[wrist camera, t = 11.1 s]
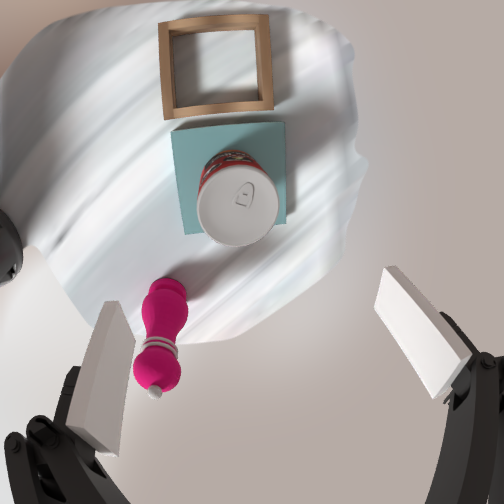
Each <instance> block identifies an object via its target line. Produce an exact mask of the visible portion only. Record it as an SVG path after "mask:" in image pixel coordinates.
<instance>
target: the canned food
mask: <svg viewBox="0 0 504 504" xmlns="http://www.w3.org/2000/svg"><path fill="white" fill-rule="evenodd" d="M279 208H280V200H279V195H278V191H277V188H276V186H275V184H274V182H273V181H272V180H271V178H270V177H269V176H268V174H267V173H266V172H265V171H264V170H263V168H262V167H261V166H260V165H259V164H258V163H257V162H256V160H255V159H254V158H253V157H252V156H250V155H249V154H247V153H245V152H243V151H239V150H226V151H223V152H220V153H218V154H216V155H215V156H213V157H212V158H211V159H210V160H209V161H208V162H207V163H206V165H205V166H204V169H203V171H202V174H201V178H200V184H199V190H198V197H197V215H198V220H199V222H200V225H201V227H202V229H203V230H204V232H205V233H206V234H207V235H208V236H209V237H210V238H211V239H212V240H214V241H215V242H217V243H219V244H222V245H225V246H230V247H241V246H247V245H250V244H252V243H255V242H257V241H258V240H260V239H261V238H263V237H264V236H265V235H266V234H267V233H268V232H269V231H270V230H271V229H272V227H273V225H274V224H275V222H276V220H277V217H278V214H279Z"/></svg>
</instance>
